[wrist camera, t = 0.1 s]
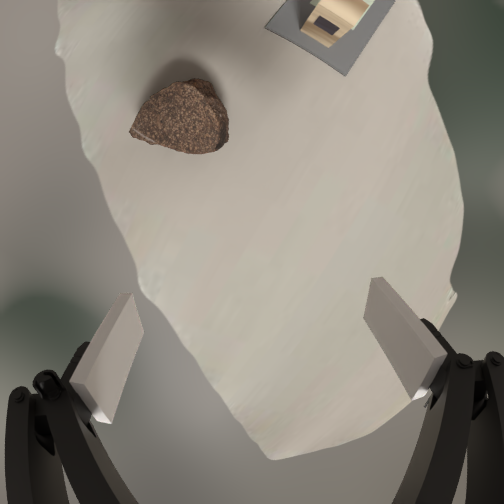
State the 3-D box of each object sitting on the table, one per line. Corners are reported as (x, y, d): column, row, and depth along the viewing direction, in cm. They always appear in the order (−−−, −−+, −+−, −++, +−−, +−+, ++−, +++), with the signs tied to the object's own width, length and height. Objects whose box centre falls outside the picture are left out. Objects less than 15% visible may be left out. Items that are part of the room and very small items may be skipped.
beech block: (328, 48, 31) (353, 26, 22) (299, 31, 30) (317, 4, 20) (342, 28, 29) (369, 5, 20) (315, 11, 28) (335, -17, 19)
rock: (132, 158, 32) (115, 92, 24) (167, 119, 37) (159, 62, 29) (221, 170, 31) (218, 93, 22) (244, 127, 36) (247, 64, 28)
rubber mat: (344, 76, 33) (346, 75, 33) (264, 28, 30) (265, 27, 29) (394, 1, 26) (395, 0, 26) (327, -42, 23) (328, -43, 22)
